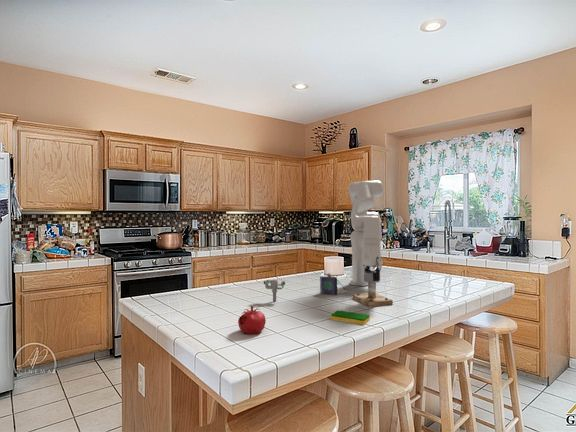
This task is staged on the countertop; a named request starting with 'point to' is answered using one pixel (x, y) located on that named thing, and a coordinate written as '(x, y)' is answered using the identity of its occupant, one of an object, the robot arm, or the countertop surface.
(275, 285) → the mechanical component
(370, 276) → the grey hollow octagonal piece
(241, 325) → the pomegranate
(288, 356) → the countertop surface
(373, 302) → the shaft block
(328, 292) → the flask
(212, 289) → the countertop surface
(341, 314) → the dish sponge
